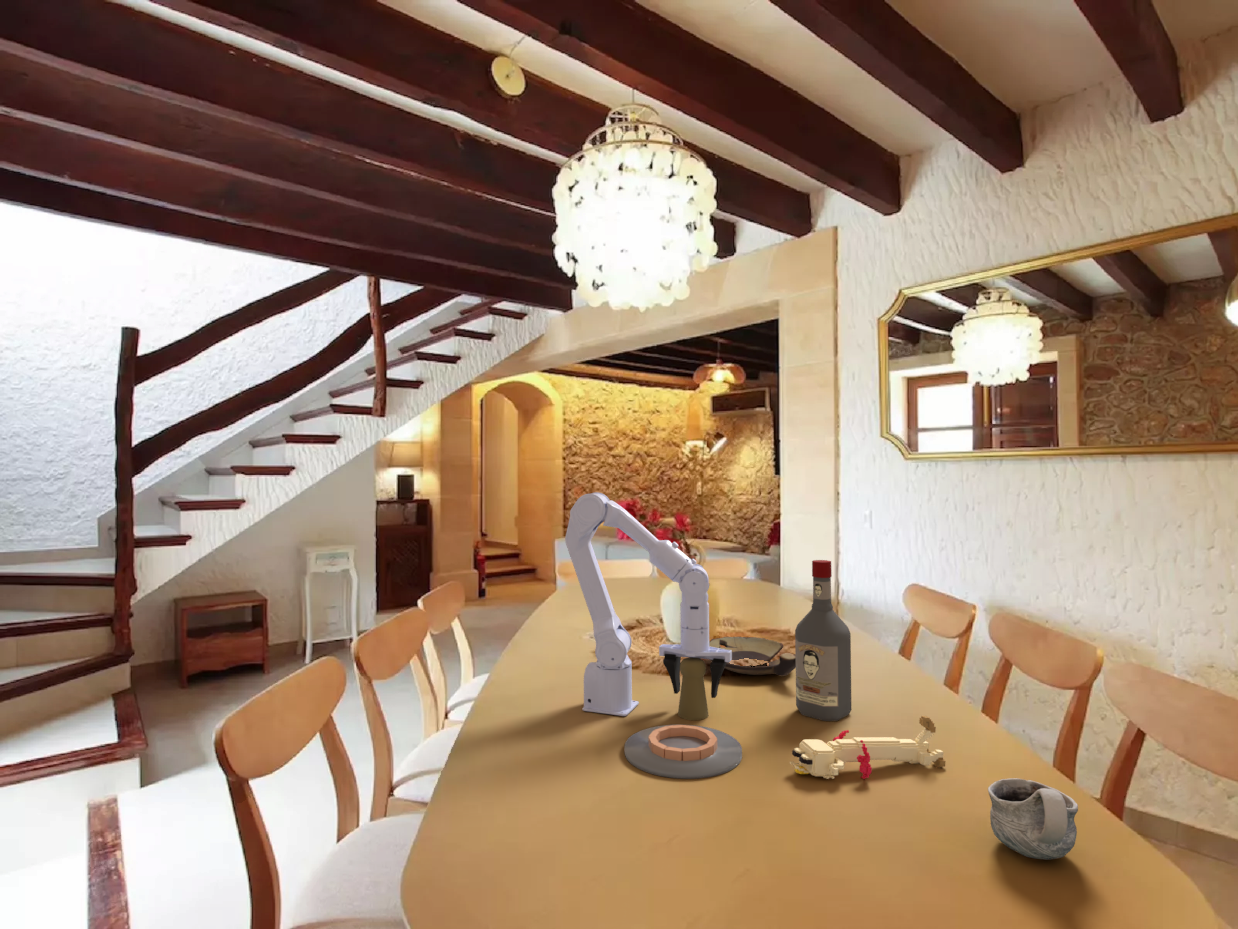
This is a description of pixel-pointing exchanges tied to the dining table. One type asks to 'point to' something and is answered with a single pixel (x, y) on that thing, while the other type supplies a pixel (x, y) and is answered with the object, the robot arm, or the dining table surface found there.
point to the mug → (1033, 818)
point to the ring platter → (683, 751)
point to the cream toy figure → (864, 752)
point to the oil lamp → (756, 655)
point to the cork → (693, 690)
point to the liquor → (823, 654)
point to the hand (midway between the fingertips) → (695, 694)
